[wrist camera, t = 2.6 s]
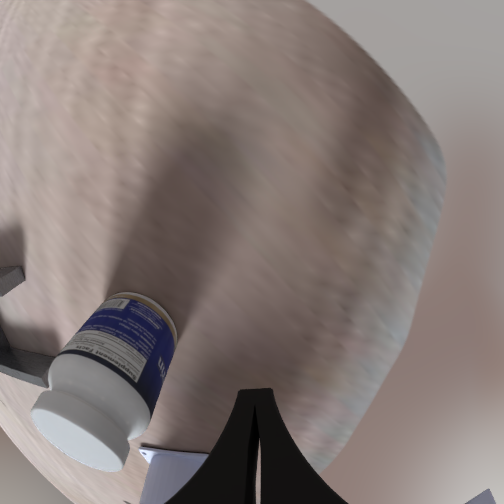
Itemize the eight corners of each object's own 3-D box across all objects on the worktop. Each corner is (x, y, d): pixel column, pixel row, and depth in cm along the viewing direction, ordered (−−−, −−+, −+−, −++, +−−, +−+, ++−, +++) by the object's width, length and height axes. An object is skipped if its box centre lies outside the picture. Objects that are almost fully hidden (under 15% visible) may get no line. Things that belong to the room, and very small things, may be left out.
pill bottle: (163, 371, 18) (123, 486, 9) (95, 333, 17) (27, 431, 8) (193, 316, 16) (146, 457, 7) (113, 272, 16) (12, 375, 6)
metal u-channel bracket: (62, 367, 19) (47, 388, 16) (9, 354, 19) (-5, 370, 16) (20, 265, 15) (-4, 281, 13) (-25, 270, 16) (-44, 282, 13)
